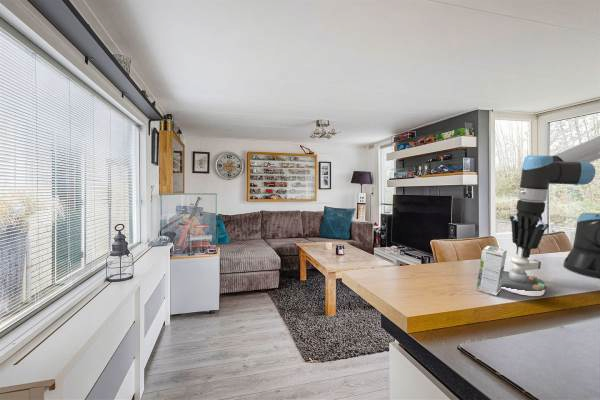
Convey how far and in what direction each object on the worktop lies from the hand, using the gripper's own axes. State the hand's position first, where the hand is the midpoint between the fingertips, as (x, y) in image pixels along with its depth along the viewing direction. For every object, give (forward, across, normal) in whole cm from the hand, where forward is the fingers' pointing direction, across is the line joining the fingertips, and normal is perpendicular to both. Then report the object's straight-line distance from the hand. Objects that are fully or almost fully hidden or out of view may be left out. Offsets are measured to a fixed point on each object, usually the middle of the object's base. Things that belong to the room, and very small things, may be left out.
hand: (521, 264), depth 101 cm
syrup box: (+6, +8, -18) cm, 20 cm away
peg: (0, +4, -2) cm, 5 cm away
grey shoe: (+5, +5, -5) cm, 9 cm away
